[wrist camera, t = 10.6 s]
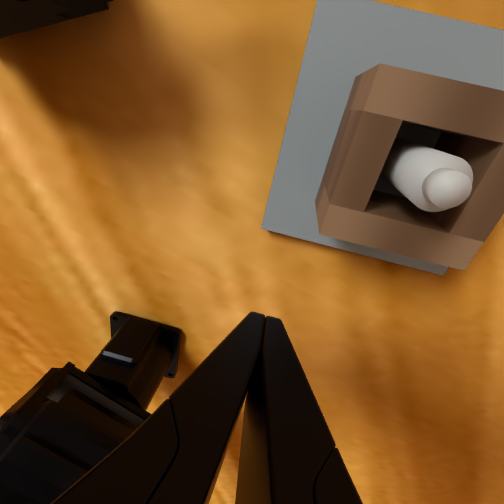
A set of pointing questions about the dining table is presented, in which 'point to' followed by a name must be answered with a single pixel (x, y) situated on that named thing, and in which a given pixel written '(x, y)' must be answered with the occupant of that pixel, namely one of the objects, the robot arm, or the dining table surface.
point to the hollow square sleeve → (450, 141)
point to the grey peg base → (409, 136)
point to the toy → (42, 13)
